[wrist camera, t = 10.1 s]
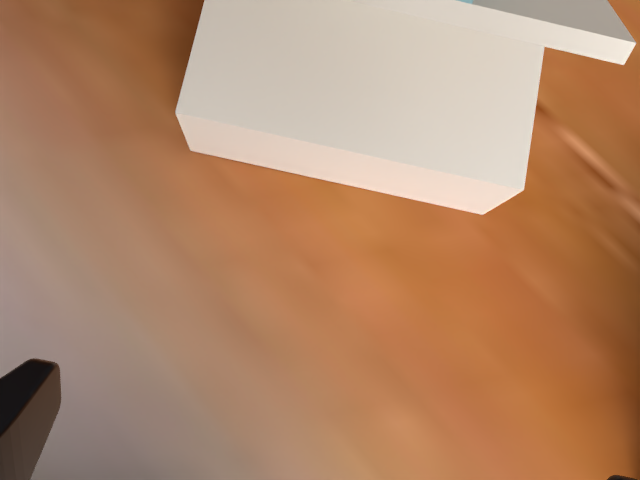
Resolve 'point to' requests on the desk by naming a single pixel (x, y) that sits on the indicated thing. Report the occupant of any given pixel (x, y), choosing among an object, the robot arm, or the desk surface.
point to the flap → (532, 22)
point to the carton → (363, 99)
